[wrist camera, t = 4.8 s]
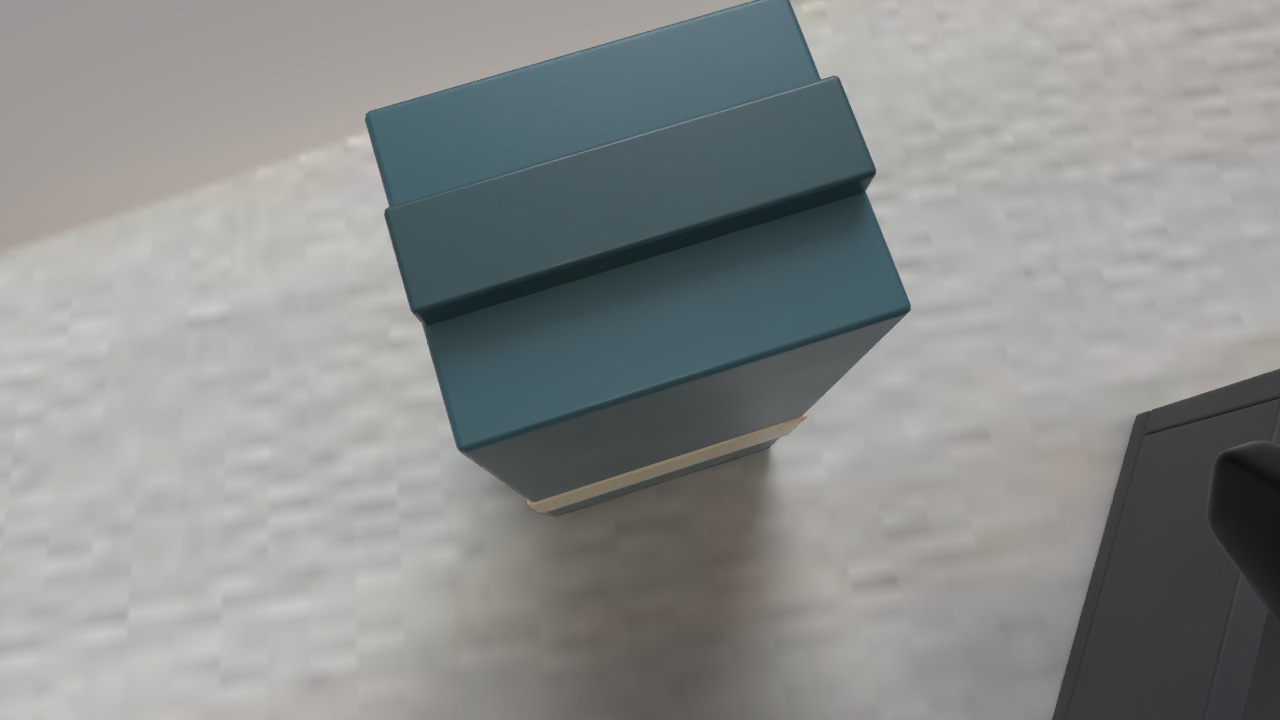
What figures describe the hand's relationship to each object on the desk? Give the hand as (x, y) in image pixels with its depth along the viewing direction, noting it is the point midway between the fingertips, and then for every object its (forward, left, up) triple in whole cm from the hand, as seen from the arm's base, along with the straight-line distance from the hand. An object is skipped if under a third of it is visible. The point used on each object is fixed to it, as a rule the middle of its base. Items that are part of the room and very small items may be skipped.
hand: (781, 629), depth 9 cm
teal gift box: (+4, +3, -11) cm, 12 cm away
